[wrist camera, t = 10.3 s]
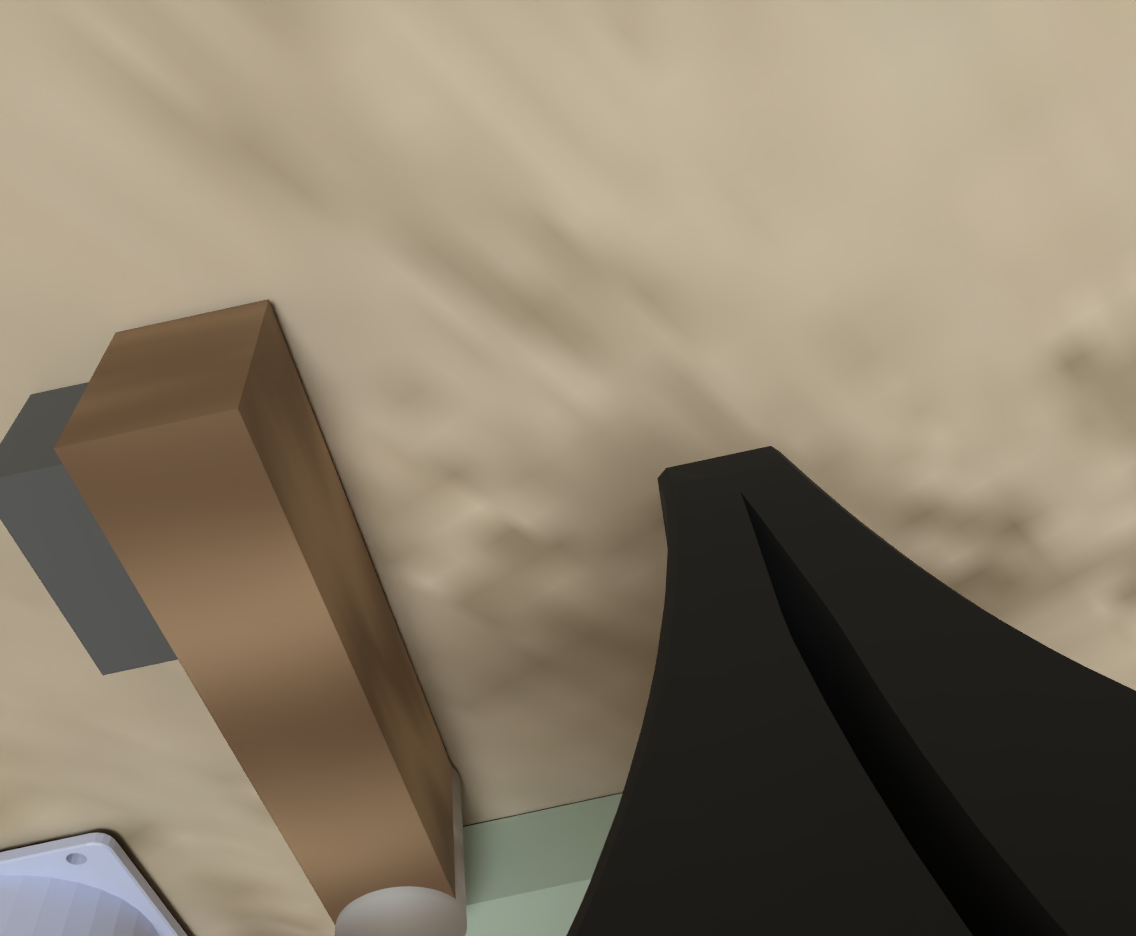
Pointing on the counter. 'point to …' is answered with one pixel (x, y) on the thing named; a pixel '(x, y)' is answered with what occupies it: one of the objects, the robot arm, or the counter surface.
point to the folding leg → (274, 608)
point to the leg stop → (72, 541)
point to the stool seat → (533, 868)
